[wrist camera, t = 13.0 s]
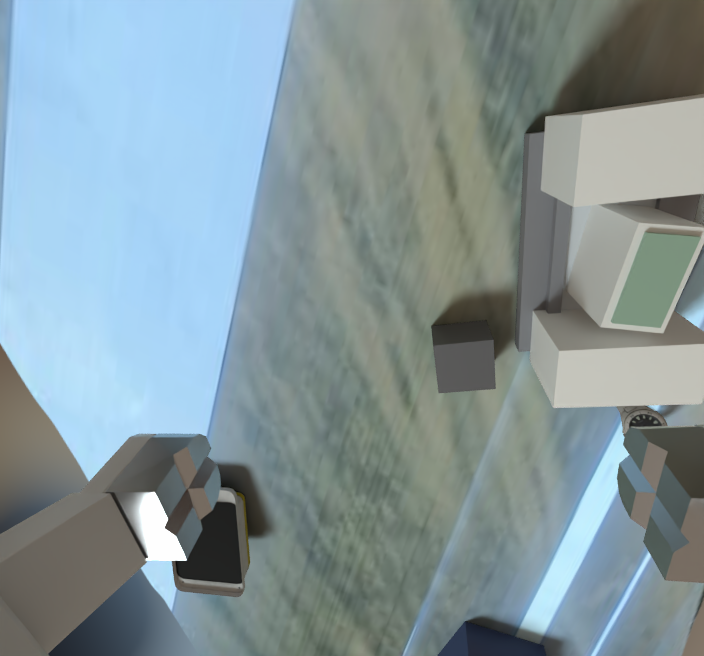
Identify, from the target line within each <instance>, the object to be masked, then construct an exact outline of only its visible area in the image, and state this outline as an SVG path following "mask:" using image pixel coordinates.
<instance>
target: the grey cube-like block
mask: <svg viewBox="0 0 704 656" xmlns="http://www.w3.org/2000/svg"><path fill="white" fill-rule="evenodd" d="M431 328H432V338H433V347H434V356H435V365H436V374H437V382H438V391H439V393H447V392H461V391H474V390H487V389H496V386H495V362H494V340H493V337H492V334H491V332H490V329H489V327H488V324H487V321H486V320H482V321H473V322H464V323H454V324H445V325H436V326H431Z"/></svg>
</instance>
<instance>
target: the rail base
mask: <svg viewBox="0 0 704 656" xmlns="http://www.w3.org/2000/svg"><path fill="white" fill-rule="evenodd" d="M700 194H704V94H700V95H693V96H686V97H679V98H672V99H665V100H658V101H651V102H644V103H637V104H630V105H623V106H616V107H609V108H602V109H595V110H588V111H580V112H573V113H566V114H559V115H552V116H546V117H545V131H540V132H533V133H526V134H525V135H524V156H523V178H522V200H521V222H520V244H519V265H518V287H517V309H516V331H515V345H516V347H517V349H518V351H519V352H520V351H530V362H531V364H532V366H533V368H534V370H535V372H536V374H537V376H538V378H539V380H540V382H541V384H542V386H543V388H544V390H545V392H546V394H547V396H548V398H549V400H550V402H551V404H552V406H553V408H568V407H606V406H644V405H682V404H702V401H703V398H704V332H703V331H702V330H700V329H699V328H698V327H696V326H695V325H693V324H692V323H691V322H689V321H688V320H686V319H685V318H684V317H682V316H681V315H679V314H678V313H677V312H675V311H673V313H672V315H671V317H670V320H669V322H668V324H667V326H666V328H665V331H664V333H653V332H643V331H633V330H623V329H613V328H603V327H600V326H599V325H598V324H597V323H596V322H595V321H594V320H593V319H592V318H591V317H590V316H589V315H588V313H587V312H586V311H585V310H584V309H583V308H582V307H581V306H580V305H579V304H578V303H577V302H576V301H575V299H574V298H573V297H572V296H571V295H570V294H569V293H568V292H567V291H566V290H565V289H566V286H567V283H568V280H569V276H570V273H571V270H572V267H573V264H574V260H575V257H576V254H577V251H578V247H579V244H580V241H581V238H582V235H583V231H584V228H585V225H586V222H587V219H588V215H589V212H590V209H591V206H592V205H599V204H621V205H635V206H649V207H652V208H655V209H658V210H660V211H663V212H666V213H669V214H672V215H675V216H678V217H680V218H683V219H686V220H689V221H692V222H694V220H695V215H696V211H697V206H698V202H699V198H700Z"/></svg>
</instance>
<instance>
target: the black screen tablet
mask: <svg viewBox="0 0 704 656" xmlns="http://www.w3.org/2000/svg"><path fill="white" fill-rule="evenodd" d="M201 525H202V529H203V530H202V531H201V533H200V535H199V537H198V539H197V541H196V543H195V545H194V547H193V549H192V551H191V553H190V554H189V556H188V558H187V560H172V566H173V574H174V582H175V586H176V588H177V589H178V590H180V591H183V592H193V593H203V594H212V595H222V596H232V597H239V596H241V595H242V594H243V591H244V588H245V581H244V578H245V575H246V572H247V570H248V568H249V564H250V556H249V543H248V531H247V519H246V506H245V497H244V495H243V494H242V493H239V492H235V491H234V490H233V489H231V488H226V487H220V491H219V497H218V500H217V502H216V504H215V506H214V508H213V510H212V511H211V512H210V513H208V514H207V515H206V516H205V517H203V518H202V519H201Z"/></svg>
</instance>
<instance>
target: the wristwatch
mask: <svg viewBox="0 0 704 656" xmlns="http://www.w3.org/2000/svg"><path fill="white" fill-rule="evenodd" d="M617 408H618V410H619V412H620V415H621V420H622V426H623V431H622V432H623V433H624V434H623V435H624V437H625V434H626V432H627V431H628V429H629V428H630V427H653V426H667V423H666V421H665V419H664V418H663V417H662V416H661V415H660V414H659V413H658V412H657V411H654V410H652V409H651V408H649V407H647V406H645V405H644V406H617Z"/></svg>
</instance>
